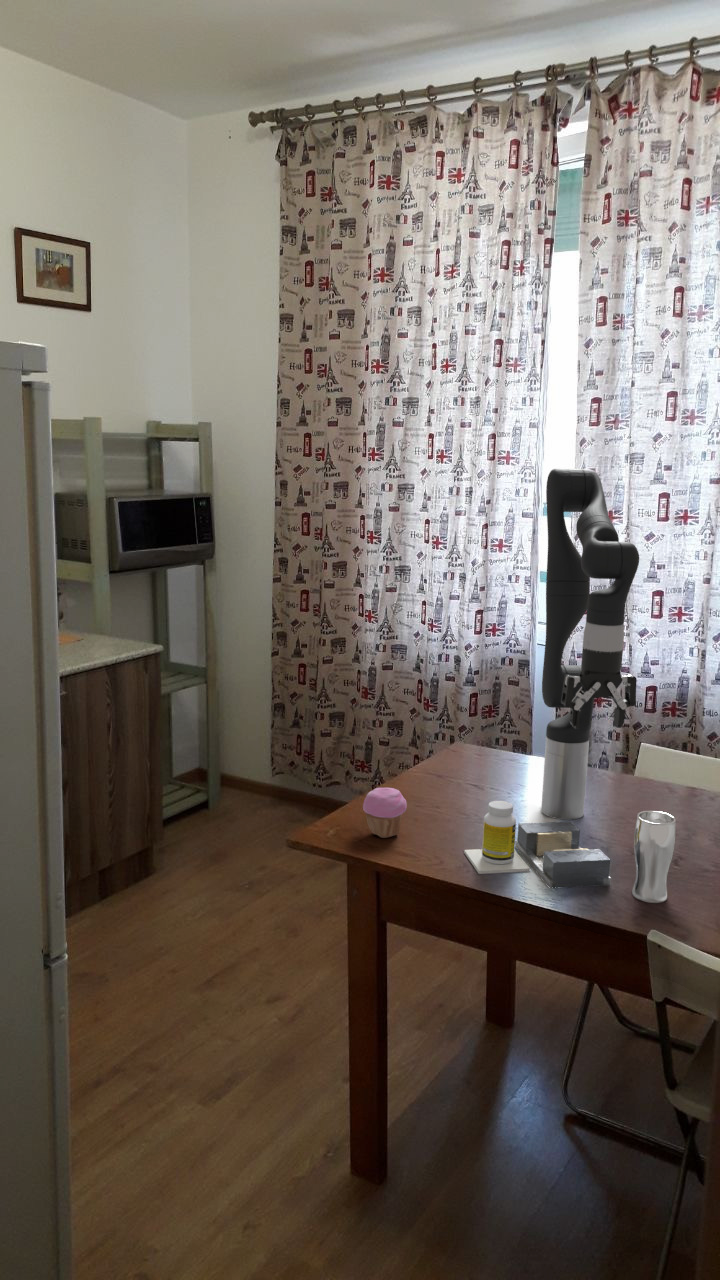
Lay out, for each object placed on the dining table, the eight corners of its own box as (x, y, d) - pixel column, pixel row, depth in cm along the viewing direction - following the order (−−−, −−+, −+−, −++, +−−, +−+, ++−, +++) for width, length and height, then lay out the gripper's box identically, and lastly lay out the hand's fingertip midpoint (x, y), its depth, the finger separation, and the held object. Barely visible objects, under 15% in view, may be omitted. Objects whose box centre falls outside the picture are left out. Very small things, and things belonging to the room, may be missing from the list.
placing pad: (464, 852, 197) (464, 849, 197) (512, 850, 199) (512, 847, 199) (479, 873, 187) (479, 870, 187) (529, 871, 189) (529, 868, 189)
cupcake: (413, 835, 205) (415, 789, 203) (384, 846, 199) (385, 799, 197) (382, 823, 211) (384, 778, 209) (353, 833, 205) (354, 787, 203)
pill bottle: (517, 865, 190) (520, 810, 188) (485, 865, 190) (488, 810, 188) (509, 852, 196) (513, 799, 194) (478, 852, 196) (481, 799, 194)
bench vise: (515, 847, 201) (516, 823, 200) (570, 844, 203) (572, 821, 202) (549, 888, 182) (551, 862, 181) (610, 884, 184) (612, 859, 183)
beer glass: (652, 907, 175) (660, 827, 173) (621, 893, 181) (627, 814, 178) (677, 898, 179) (685, 819, 177) (646, 884, 185) (652, 807, 182)
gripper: (629, 641, 195) (623, 721, 199) (560, 641, 193) (554, 722, 196) (646, 649, 188) (639, 732, 191) (574, 650, 186) (568, 733, 189)
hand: (596, 727), depth 194 cm, fingers open, 8 cm apart
